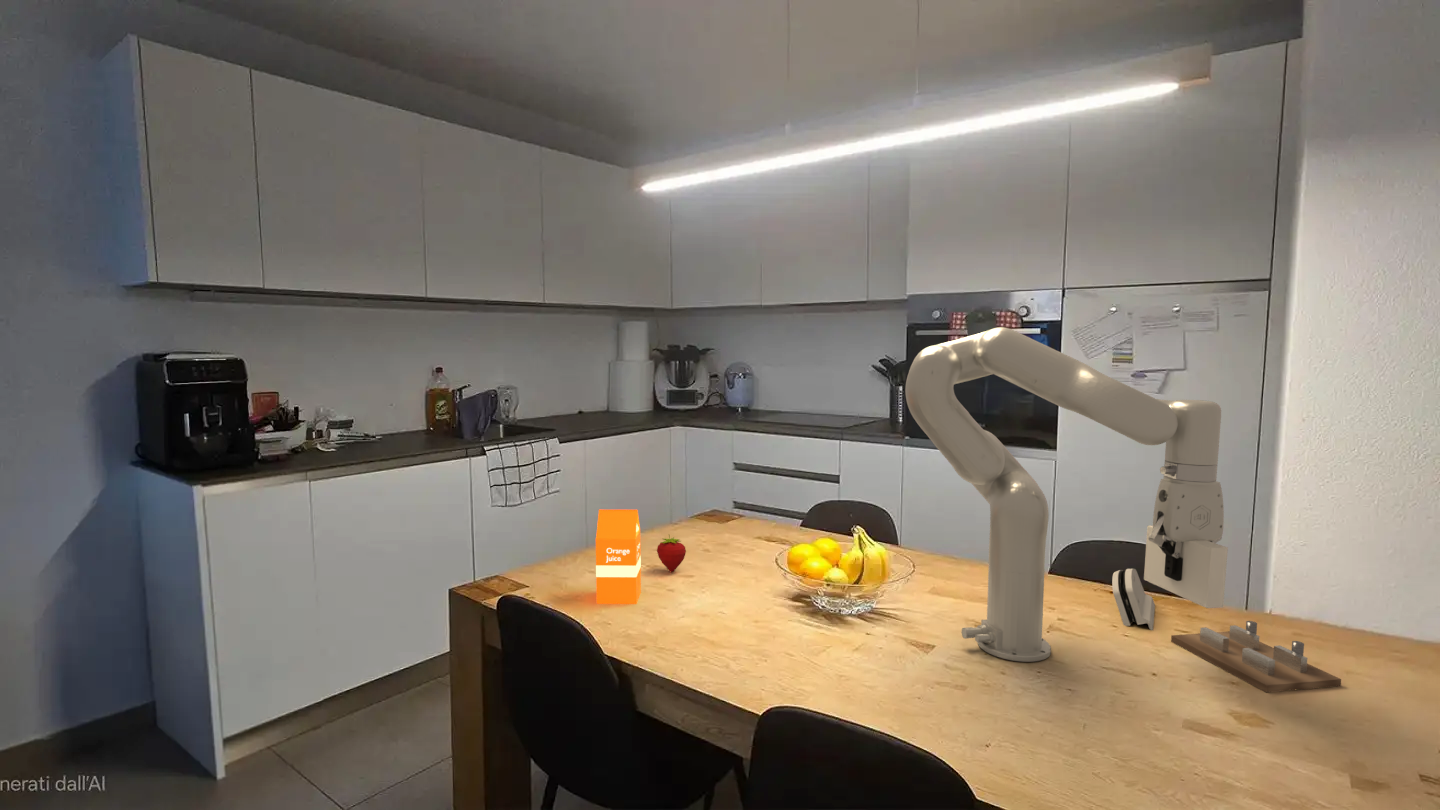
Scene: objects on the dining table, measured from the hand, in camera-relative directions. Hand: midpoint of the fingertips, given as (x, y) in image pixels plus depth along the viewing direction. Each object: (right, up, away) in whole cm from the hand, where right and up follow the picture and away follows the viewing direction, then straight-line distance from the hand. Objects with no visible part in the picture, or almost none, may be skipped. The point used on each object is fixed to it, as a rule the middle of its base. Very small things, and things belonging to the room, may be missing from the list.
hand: (1182, 577), depth 123 cm
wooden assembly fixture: (+14, -16, +3) cm, 22 cm away
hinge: (+7, -14, +26) cm, 31 cm away
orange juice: (-102, -14, +36) cm, 109 cm away
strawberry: (-92, -12, +54) cm, 107 cm away
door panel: (0, -3, 0) cm, 3 cm away
